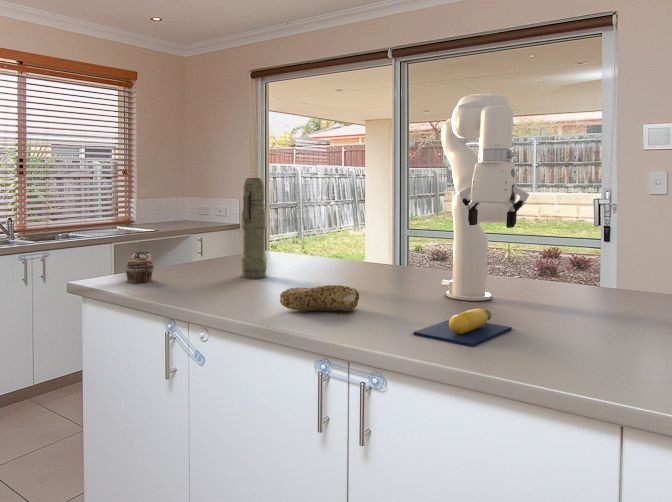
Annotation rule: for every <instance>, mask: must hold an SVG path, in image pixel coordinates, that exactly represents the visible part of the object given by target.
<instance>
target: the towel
mask: <svg viewBox="0 0 672 502" xmlns="http://www.w3.org/2000/svg"><path fill="white" fill-rule="evenodd" d="M449 320H450V319H448V320H445V321H442V322H439V323H436V324H433V325H430V326H427V327H424V328H421V329H418V330H415V331H413V335H414V336H420V337H423V338H430V339H434V340H438V341H443V342H448V343H453V344H457V345H458V344H459V345H463V346H468V347H474V346H477V345H480V344H482V343H484V342H486V341H488V340H491V339H493V338H495V337H497V336H500V335H503V334H505V333H507V332H509V331H512V329H513V327H512V326H508V325H504V324H503V325H501V324H496V323H491V322H486V324H485V325H483V326H482V327H479V328H477V329H474V330H471V331H469V332H466V333H464V334H455V333H454V332H452V331H451V330H450V328H449Z"/></svg>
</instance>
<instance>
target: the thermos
mask: <svg viewBox="0 0 672 502" xmlns="http://www.w3.org/2000/svg"><path fill="white" fill-rule="evenodd" d="M264 183H265V182H264V180H263V179H262V178H261V177H247V178H244V181H243V185H242V202H243V204H242V210H241V215H240V216H241V218H240V219H241V224H240V225H241V229H242V256H241V261H240V262H241V277H242V278H243V279H264V278H267V266H268V264H267V263H268V262H267V255H266V229H267V211H266V207H265V205H266V204H265V198H266V197H265V193H266V192H265V191H266V189H265V188H266V187H265V184H264Z"/></svg>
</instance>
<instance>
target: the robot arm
mask: <svg viewBox="0 0 672 502" xmlns="http://www.w3.org/2000/svg"><path fill="white" fill-rule="evenodd" d="M513 128H514V109H513V107H511V106H510V103H509V100H508V98H507V97H506V96H505V95H504V94H501V93H473V94H468V95H467V94H466V95H465V96H463V97H462V98H461V99H460V100H459V101H458V103H457V105H456V107H455V108H454V109H453V112H452V115H451V118H448V119H446V120H445V121H444V123H443V124H442V126H441V132H440V139H441V144H442V149H443V151H444V154H445V156H446V157H447V159H448V161H449V163H450V166H451V172H452V173H451V175H452V181H453V185H454V189H455V191H456V194H454V196H453V198H452V202H451V209H452V216H453V217H452V218H453V256H452V257H453V258H452V279H451V280H445V279H442V280H441V282H440V287H441V288H447V289H448V290H447V291H446V297H448V298H450V299H454V300H460V301H471V302H472V301H473V302H480V301H488V300H491V299H492V294H491V293H490V292H487V274H488V273H487V272H488V256H489V255H488V253H489V251H488V249H489V238H488V235H487V233H486V232H485V230H484V229H483V228H482V227H481V225H480V224H506V226H505V227H506V228H507V229H511V228H515V225H516V224H517V215H518V212H519V210H520V209H521V208H522V207H523V206H524V205H525V203H526V202H527V200H528V199H529V196H530V194H529V193H528V192H527V191H525V190H523V189H521V188H519V187H518V186H517V185H518V183H517V171H516V165H515V162H512V160H513V158H515V159H516V158H517V156H518V153H517V152H516V151H513V149H512V147H513V130H514V129H513ZM469 145H478V153H477V152H476V151H475V150H474V149H473V148H471V147H470V146H469ZM517 195H518V196H519V200H517V197H518V196H517Z"/></svg>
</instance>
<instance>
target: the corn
mask: <svg viewBox="0 0 672 502" xmlns="http://www.w3.org/2000/svg"><path fill="white" fill-rule="evenodd" d="M491 318H492V311H490V310H489V309H487V308H483V309H482V308H479V307H476V308H472V309H469V310H466V311H463V312H460V313H457V314H454V315H452V317H450V319H448V320H449V328H450V330H451V331H452V332H454V333H455V334H464V333H466V332H469V331H471V330H474V329H477V328H479V327H482V326H483V325H485V324H486V323H488V321H489V320H490V319H491Z"/></svg>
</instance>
